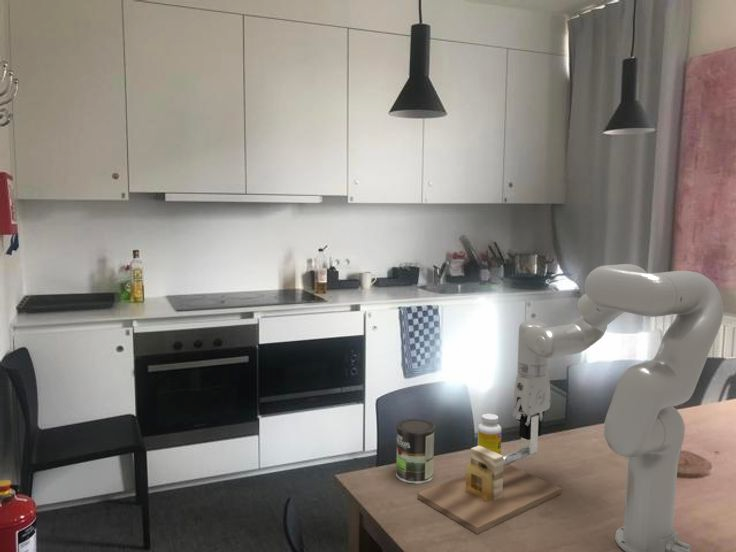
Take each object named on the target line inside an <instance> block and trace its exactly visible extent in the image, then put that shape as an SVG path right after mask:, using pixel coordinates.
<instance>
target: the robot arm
mask: <svg viewBox="0 0 736 552" xmlns="http://www.w3.org/2000/svg"><path fill="white" fill-rule="evenodd" d="M576 305H577V308H576V309H577V311H578V314H579V316H580V317H579V318H577V319H576V320H575V321H573V322H572V323H570V324H564V325H556V326H551V327H550V326H549V325H547V323H544V322H542V321H537V320H536V321H534V320H532V321H531V320H529V321H528V320H527V321H523V322H521V323H519V326H518V346H517V347H518V349H517V375H516V379H515V386H514V390H513V391H514V393H513V412H512V417H513V418H514V419H516V420H517V422H518V423H519V434H518V435H519V437H520V438H521V437H522V438H524V439H527V440H530V439H531V425H529V424H530V416H531V415H534V414H537V415H539V418H538V437H540V436H541V431H542V430H541V429H542V421H543V419H544V418H543V415H544V414H545V412H546V411H547V410H549V409H550V407H551V381H550V377H549V373H548V363H549V361H548V360H549V359H555V358H562V357H564V356H572V355H577V354H580V353H582V352H584V351H586V350H588V349H589V348H590V347H591V346H593V345H595V344H596V343H597V342H599V341H600V340H601V339H602V338H603V337H604V335H605V333H606V331H607V329H608V325H609V324H611V323H612V322H614V321H615V320H616V319H618V318H619V317H620V316H621V315H622V314H624V313H627V314H632V315H636V316H643V317H648V318H649V317H650V318H658V317H664V316H665V317H666V316H672V315H676V316H675V318H674V320H673V322H672V323H671V324H670V325H669V327H668V328H667V330H665V333H664V334H663V337H662V339H661V342H660V345H659V348H658V350H657V353H656V354H655V356H654V357H653V358H652V359H651V360H649V361H644V362H642V363H641V362H640V363H637V364H634V365H631V366H630V367H629V368H627V369H626V370H625V371H624V372H622V375H621V376H620V378H619V380H618V381H617V384H616V387H615V390H614V393H613V395H612V398H611V402H610V405H609V408H608V410H607V413H606V416H605V419H604V424H603V434H604V435H603V436H604V439H605V441H606V444H607V446H608V447H609V449H610V450H611V451H612V452H613V453H615V454H616V455H618V456H619V457H624V458H628V459H627V463H626V464H627V465H626V478H625V479H626V480H625V498H624V516H623V526H621V527H619V528H618V529H616V532H615V536H614V538H615V539H614V540H615V542H616V544H617V545H618V546H619V547H620V548H621V549H622V550H623V551H624V552H692V551H691V545H690V544H688V543H686V542H683V541H681V540H680V539H679V538H678V536H679V531H677V530H675V529H674V519H675V506H676V505H675V503H676V492H677V491H676V490H677V480H678V479H677V476H678V467H679V459H680V455H681V452H682V447H683V442H684V439H685V428H686V427H685V422H684V419H683V416H682V415H681V413H680V412H679V410H678V409H677V408H675V407H677V406H680V405H682V404H684V403H687V402H688V401H689V400H690V399H691V398H692V396H693V394H694V392H695V390H696V388H697V384H698V382H699V380H700V377H701V374H702V373H703V370H704V367H705V364H706V362H707V359H708V356H709V354H710V351H711V349H712V347H713V344H714V343H715V339H716V337H717V335H718V334H719V331H720V329H721V325H722V322H723V319H724V318H723V317H724V301H723V299H722V295H721V293H720V291H719V289H718V287H717V286H716V284H715V283H714V282H713V281H712V280H711V279H709V278H708V277H707V276H705V275H704V274H702V273H699V272H697V271H691V270H675V271H673V270H671V271H664V272H647V271H646V270H645V269H644V268H642V267H641V266H638V265H636V264H631V263H622V264H621V263H620V264H609V265H608V264H606V265H600V266H597V267H595V268H594V269H592V270H591V271H590V272H589V273H588V275H587V276H586V278H585V282H584V294H583V295H582V296H581V297H579V299H578V300H577V303H576ZM523 415H526V418H525V417H524V416H523Z"/></svg>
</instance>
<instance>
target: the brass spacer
mask: <svg viewBox="0 0 736 552" xmlns="http://www.w3.org/2000/svg"><path fill="white" fill-rule="evenodd" d="M465 465H466V467H465V468H466V469H465V473H466V491H467V492H469V493H471V494H472V495H474V496H476V497H478V498H480V499H482V500H484V501H486V502H488V501H491V500H492V498H493V472H491V471H489V470H487V469H485V468H483V467H481V466H479V465H477V464H474V463H472V462H471V461H470V462H469V463H466V464H465ZM477 476H478V477H480V478H482V487H480V486H478V485H476V482H477Z"/></svg>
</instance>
